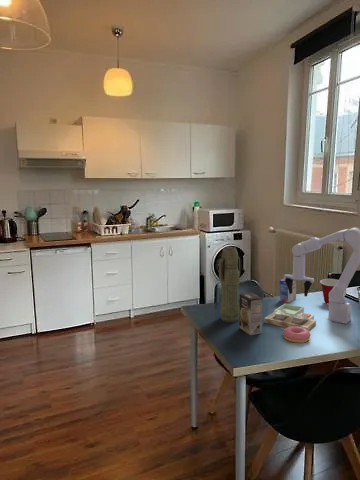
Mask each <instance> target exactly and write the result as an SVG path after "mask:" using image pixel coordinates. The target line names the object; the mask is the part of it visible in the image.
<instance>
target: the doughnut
mask: <svg viewBox="0 0 360 480" xmlns="http://www.w3.org/2000/svg"><path fill="white" fill-rule="evenodd" d="M282 334H283V335H282V336H283V337H284V339H286V340H287V341H288V342H292V343H297V344H298V343H300V344H302V343H305V342H308V341H309V340H310V338H311V333H310V330H309V331H308V329H305V328H304V327H298V326H290V327H287V328H286V327H284V329H283V332H282Z"/></svg>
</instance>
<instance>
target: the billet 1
mask: <svg viewBox="0 0 360 480" xmlns="http://www.w3.org/2000/svg"><path fill="white" fill-rule="evenodd" d="M275 319H277V320H281V321H284V320H285V319H286V311H285V310H277V312H276V313H275Z"/></svg>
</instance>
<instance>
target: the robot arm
mask: <svg viewBox="0 0 360 480" xmlns="http://www.w3.org/2000/svg"><path fill="white" fill-rule="evenodd" d="M335 241H340V242H345V241H346V243H348V244H349V245H350V247H351V249H352V251H353V252H352V253H351V255H350V257H349V260H348V261H347V263H346V265H345V267H344V269H343V271H342V273H341V274H340V277H339V279H337V280H338V282H337V284H336V286H334V287H333V289H332V290H331V291H330V292H329V304H328V315H327V316H326V318H324V319H325V320H327V321H328V320H329V321H331V322H335V323H341V324H346V325H347V324H348V323H349V322H350V321H351V320H352V317H351V316H352V304H351V303H350V302H347V301H346V298H345V296H346V295H347V288H348V286H349V284H350V282H351V280H352V279H353V277H354V275H355V273H356V271H357V269H358V267H359V265H360V228H359V227H355V226H354V227H351V228H345V229H341V230H339V231H336V232H333V233H331V234H328V235H326V236H323V237H321V238H318V237H313V236H311V237H310V238H309V239H307V240H305V241H300V242H299V243H297V244H295V245H293V246H292V248H291V253H292V254H293V255H292V257H293V258H292V274H287V273H286V274H283V279H286V280H285V282H286V284H287V286H288V290H289V294H291V293H292V286H293V280H296V281H298V282H299V281H300V282H304V283H303V286H304V287H303V288H304V292H303V296H304V297H308V294H309V290H310V288H311V286H312V284H313V283H314V282H315V278H314V277H309V276H306V254H308V253H312V252H315V251H317V250H320V249H321V248H322V246H323V245H327V244H330V243H333V242H335Z"/></svg>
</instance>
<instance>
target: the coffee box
mask: <svg viewBox="0 0 360 480" xmlns="http://www.w3.org/2000/svg"><path fill="white" fill-rule="evenodd" d="M262 326H263V297H261V296H259V295H257V294H255V293H254V292H244V293H243V292H242V293H239V329H240V330H242V331H243V332H244V333H246V334H247V335H249V336H254V335H260V334H262V333H263V332H262V331H263V330H262V329H263V327H262Z"/></svg>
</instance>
